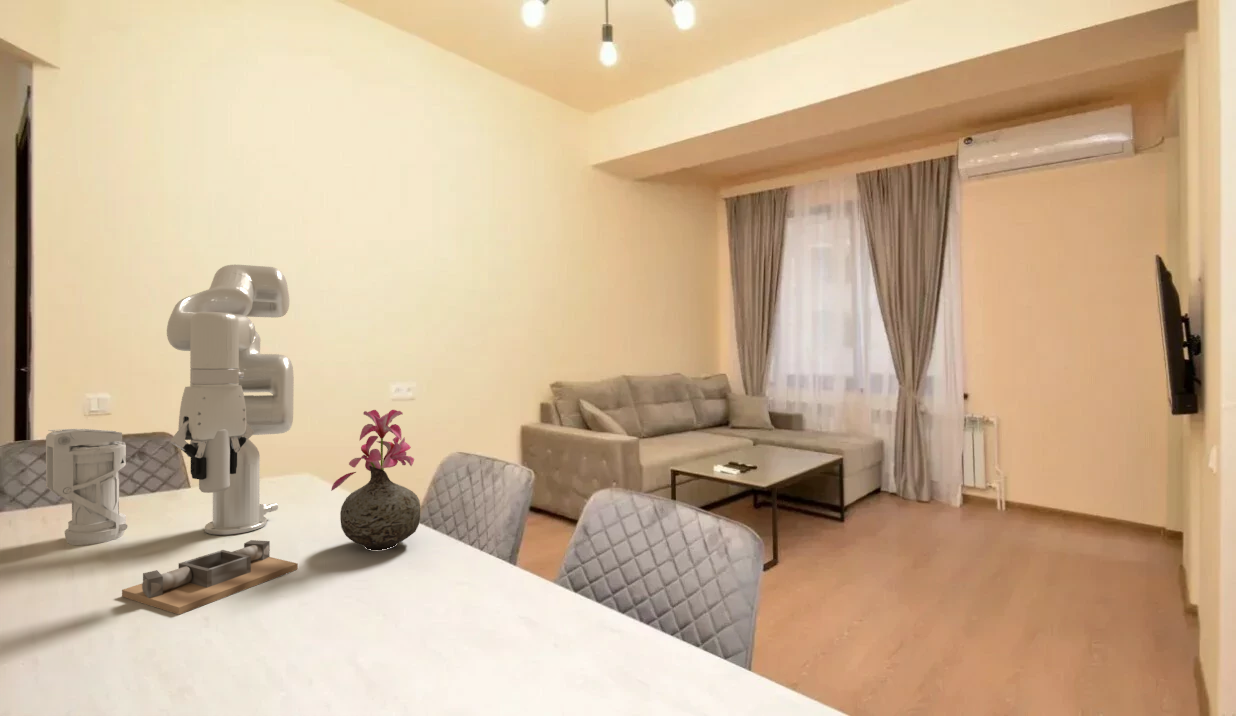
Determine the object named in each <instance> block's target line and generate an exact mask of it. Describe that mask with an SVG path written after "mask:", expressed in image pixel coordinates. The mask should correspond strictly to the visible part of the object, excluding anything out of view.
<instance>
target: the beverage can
mask: <svg viewBox="0 0 1236 716" xmlns="http://www.w3.org/2000/svg"><path fill="white" fill-rule="evenodd" d="M203 457H206V460H207V461H206V478H205V479H203V480H200V479H198V489H199V490H200V492H201V493H206V494H208V493H209V494H210V493H212V494H213V492H220V491H224V490H227V489H228V487H229V486H230V437H229V435H228V430H226V429H222V430H218V431H217V433H216V435H215V437H214V439H212V440H209V441H207V443H206V447H205V450H204V454H203Z"/></svg>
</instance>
